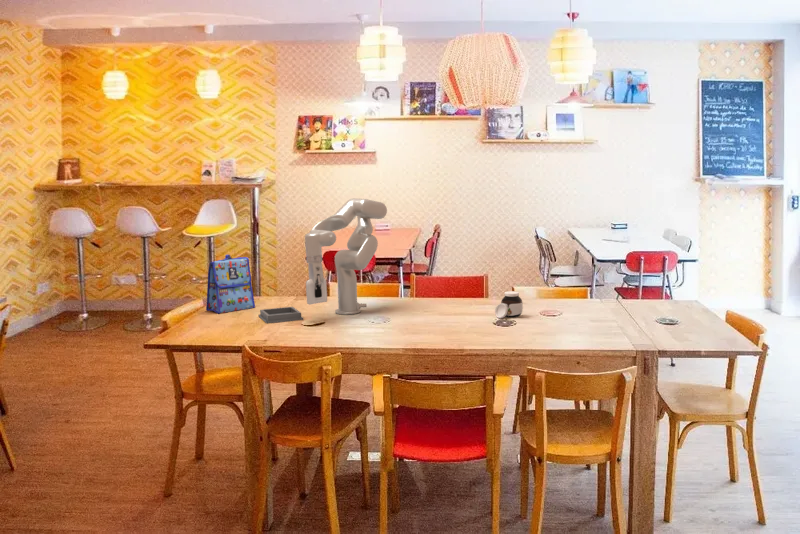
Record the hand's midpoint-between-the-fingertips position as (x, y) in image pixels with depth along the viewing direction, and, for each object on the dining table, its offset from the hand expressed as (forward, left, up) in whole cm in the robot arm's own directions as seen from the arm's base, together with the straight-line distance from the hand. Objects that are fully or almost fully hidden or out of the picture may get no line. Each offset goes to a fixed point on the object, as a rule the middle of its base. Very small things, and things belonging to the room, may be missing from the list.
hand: (316, 295), depth 411 cm
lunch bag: (+33, -47, -12) cm, 59 cm away
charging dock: (+15, -13, -12) cm, 23 cm away
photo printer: (0, 0, -4) cm, 4 cm away
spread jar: (-85, +35, -12) cm, 93 cm away
